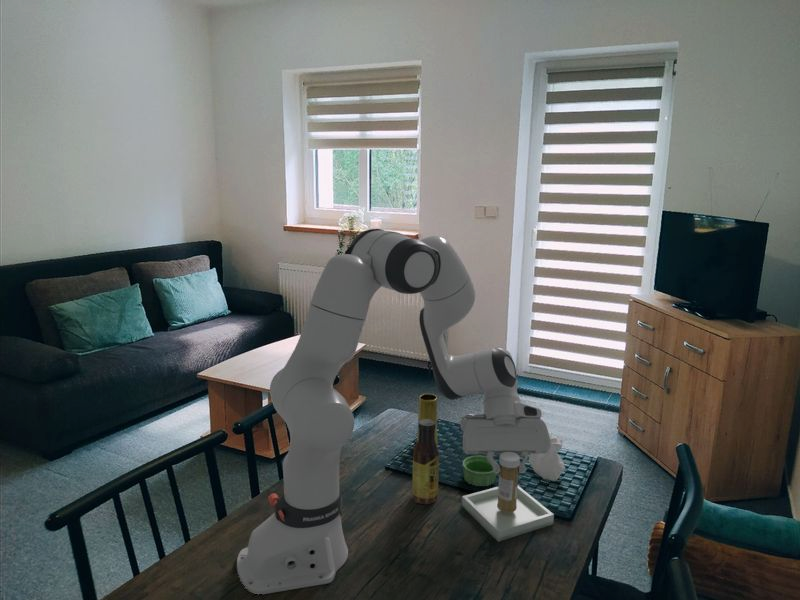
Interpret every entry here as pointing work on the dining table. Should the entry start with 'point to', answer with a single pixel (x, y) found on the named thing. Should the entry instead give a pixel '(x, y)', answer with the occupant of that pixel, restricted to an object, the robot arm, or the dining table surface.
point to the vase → (428, 410)
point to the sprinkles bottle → (508, 481)
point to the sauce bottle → (425, 464)
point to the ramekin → (478, 471)
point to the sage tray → (507, 524)
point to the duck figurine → (548, 461)
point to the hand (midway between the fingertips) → (509, 472)
